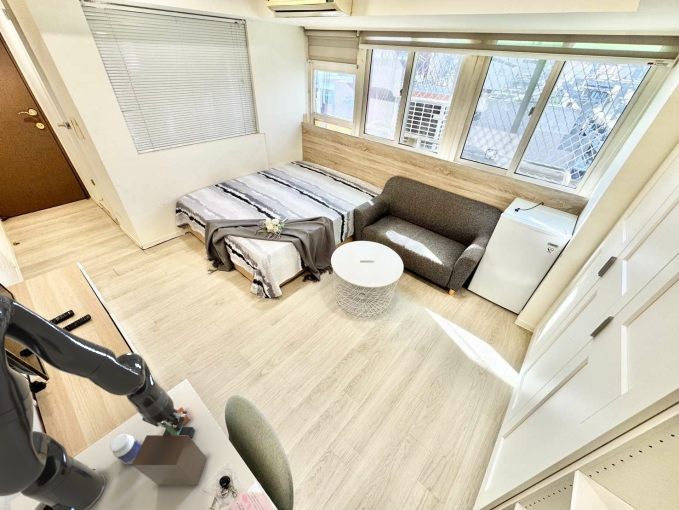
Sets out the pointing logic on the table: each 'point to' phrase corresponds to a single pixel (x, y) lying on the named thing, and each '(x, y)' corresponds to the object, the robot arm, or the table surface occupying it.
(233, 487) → the table surface
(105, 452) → the table surface
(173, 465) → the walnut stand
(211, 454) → the table surface
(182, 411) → the orange red cube
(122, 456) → the pill bottle
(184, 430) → the wiper
